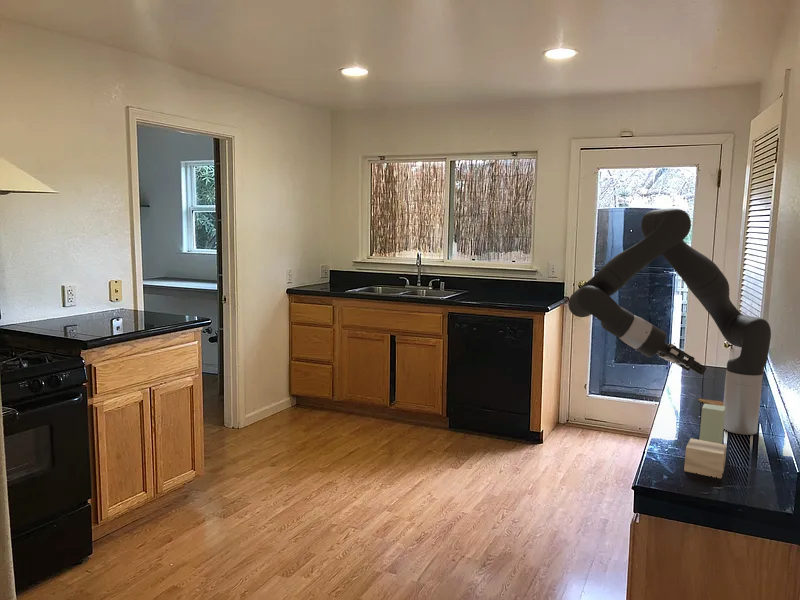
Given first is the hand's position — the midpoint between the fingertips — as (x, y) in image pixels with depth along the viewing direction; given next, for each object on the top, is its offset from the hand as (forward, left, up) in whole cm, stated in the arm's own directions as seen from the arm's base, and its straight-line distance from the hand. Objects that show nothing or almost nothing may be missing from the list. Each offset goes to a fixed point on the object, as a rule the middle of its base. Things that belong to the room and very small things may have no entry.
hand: (697, 369), depth 164 cm
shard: (-55, +1, -23) cm, 60 cm away
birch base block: (+10, +4, -22) cm, 25 cm away
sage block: (-4, +4, -22) cm, 23 cm away
